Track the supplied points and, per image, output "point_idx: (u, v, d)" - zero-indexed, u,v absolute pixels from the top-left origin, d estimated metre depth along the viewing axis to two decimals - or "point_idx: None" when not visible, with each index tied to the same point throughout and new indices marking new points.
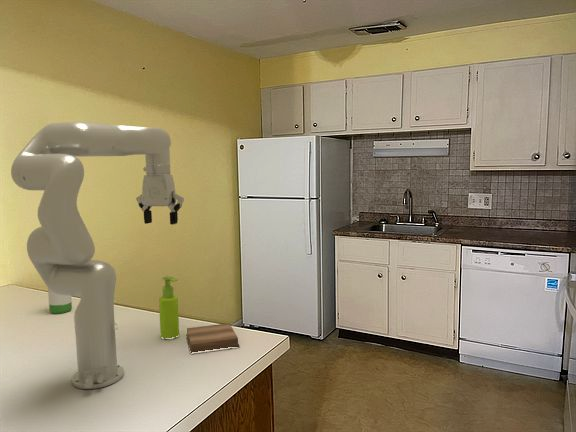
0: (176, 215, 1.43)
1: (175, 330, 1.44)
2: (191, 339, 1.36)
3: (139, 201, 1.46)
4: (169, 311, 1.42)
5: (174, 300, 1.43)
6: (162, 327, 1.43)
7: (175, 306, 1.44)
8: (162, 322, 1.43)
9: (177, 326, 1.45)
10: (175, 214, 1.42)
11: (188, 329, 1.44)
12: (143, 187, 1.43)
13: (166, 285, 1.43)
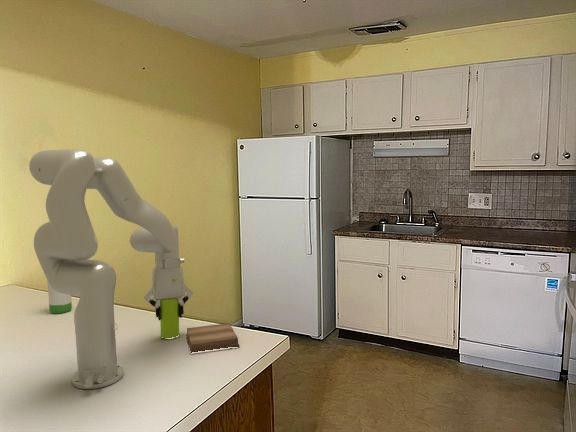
0: None
1: (175, 330, 1.44)
2: (191, 339, 1.36)
3: None
4: (169, 311, 1.42)
5: (175, 300, 1.43)
6: (162, 327, 1.43)
7: (176, 306, 1.44)
8: (163, 321, 1.43)
9: (177, 326, 1.45)
10: None
11: (188, 329, 1.44)
12: None
13: None
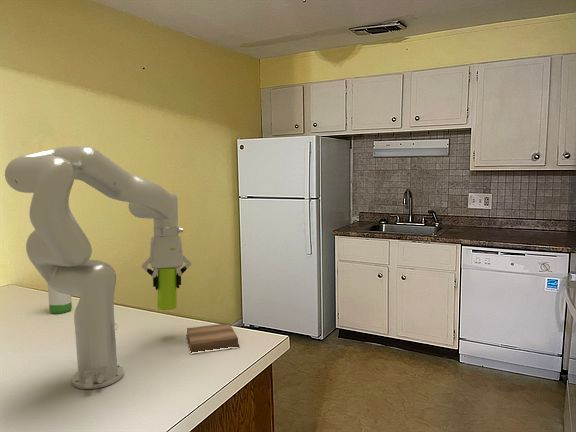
0: (153, 280, 1.42)
1: (172, 300, 1.42)
2: (191, 339, 1.36)
3: None
4: (167, 281, 1.41)
5: (173, 270, 1.42)
6: (159, 297, 1.41)
7: (173, 276, 1.42)
8: (160, 291, 1.41)
9: (175, 297, 1.43)
10: (153, 279, 1.42)
11: (188, 329, 1.44)
12: None
13: None
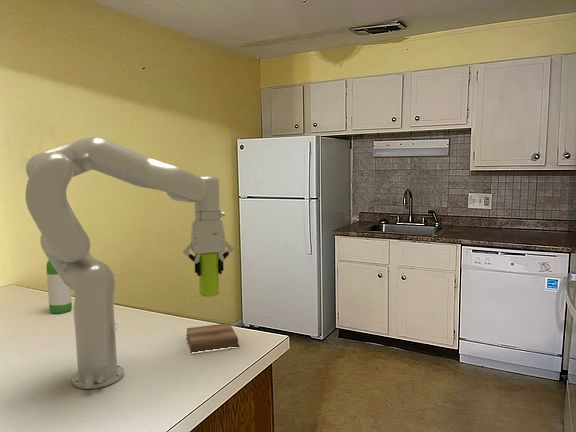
0: (195, 266, 1.37)
1: (215, 286, 1.37)
2: (191, 339, 1.36)
3: None
4: (209, 266, 1.36)
5: (215, 255, 1.37)
6: (202, 283, 1.37)
7: (216, 261, 1.37)
8: (202, 277, 1.36)
9: (217, 283, 1.38)
10: None
11: (188, 329, 1.44)
12: None
13: None
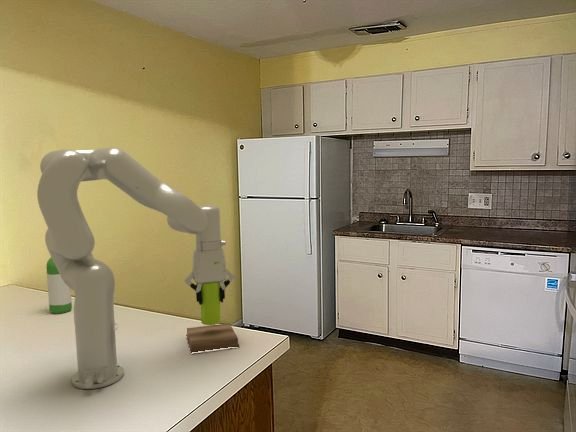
0: (196, 295, 1.38)
1: (216, 315, 1.39)
2: (191, 339, 1.36)
3: None
4: (211, 295, 1.37)
5: (217, 284, 1.38)
6: (204, 311, 1.38)
7: (217, 290, 1.38)
8: (204, 306, 1.38)
9: (219, 311, 1.40)
10: (196, 293, 1.38)
11: (188, 329, 1.44)
12: None
13: None
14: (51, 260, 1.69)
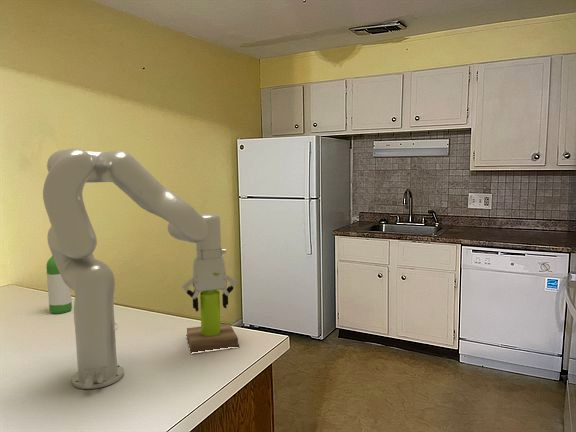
0: (193, 302, 1.38)
1: (216, 326, 1.39)
2: (191, 339, 1.36)
3: None
4: (211, 306, 1.37)
5: (216, 295, 1.38)
6: (204, 323, 1.38)
7: (217, 301, 1.38)
8: (204, 317, 1.38)
9: (219, 322, 1.40)
10: None
11: (188, 329, 1.44)
12: None
13: None
14: (51, 260, 1.69)
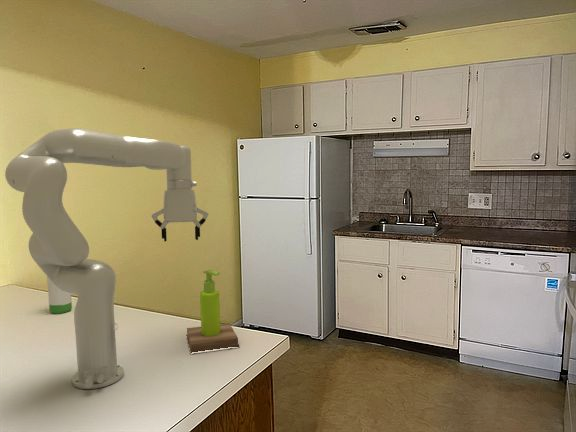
0: None
1: (216, 326, 1.39)
2: (191, 339, 1.36)
3: None
4: (211, 306, 1.37)
5: (216, 295, 1.38)
6: (203, 323, 1.38)
7: (217, 301, 1.38)
8: (204, 317, 1.38)
9: (219, 322, 1.40)
10: None
11: (188, 329, 1.44)
12: None
13: (208, 279, 1.38)
14: None
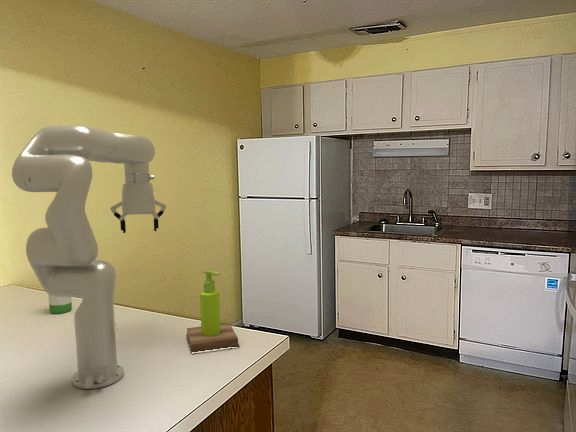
0: None
1: (216, 326, 1.39)
2: (191, 339, 1.36)
3: None
4: (211, 306, 1.37)
5: (216, 295, 1.38)
6: (203, 323, 1.38)
7: (217, 301, 1.38)
8: (204, 317, 1.38)
9: (219, 322, 1.40)
10: None
11: (188, 329, 1.44)
12: None
13: (208, 279, 1.38)
14: None
